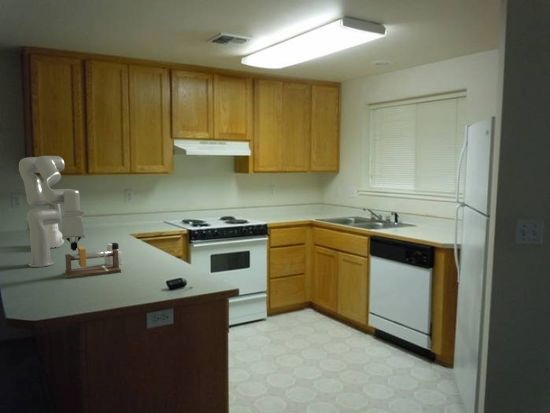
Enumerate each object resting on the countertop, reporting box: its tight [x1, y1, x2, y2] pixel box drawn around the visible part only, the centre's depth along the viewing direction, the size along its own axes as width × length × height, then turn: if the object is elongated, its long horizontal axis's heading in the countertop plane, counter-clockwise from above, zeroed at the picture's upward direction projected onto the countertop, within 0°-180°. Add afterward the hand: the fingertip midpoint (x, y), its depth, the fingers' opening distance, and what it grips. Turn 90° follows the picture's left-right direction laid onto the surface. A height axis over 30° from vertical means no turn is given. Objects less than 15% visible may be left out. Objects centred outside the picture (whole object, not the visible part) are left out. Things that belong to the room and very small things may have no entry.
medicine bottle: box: [104, 242, 123, 266], centre depth 257 cm, size 7×7×12 cm
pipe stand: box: [64, 250, 122, 280], centre depth 238 cm, size 15×25×11 cm, turn 120°
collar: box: [77, 246, 87, 268], centre depth 236 cm, size 9×2×9 cm, turn 30°
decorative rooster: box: [44, 223, 65, 249], centre depth 307 cm, size 25×16×25 cm, turn 21°
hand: (74, 250), depth 233 cm, fingers closed
